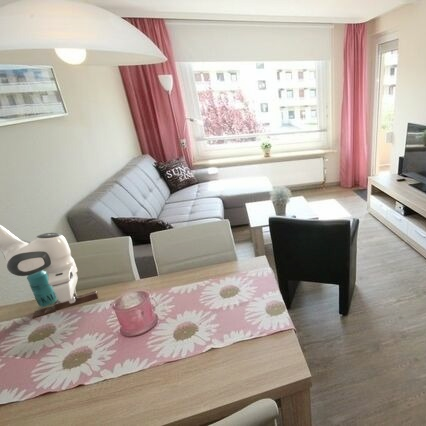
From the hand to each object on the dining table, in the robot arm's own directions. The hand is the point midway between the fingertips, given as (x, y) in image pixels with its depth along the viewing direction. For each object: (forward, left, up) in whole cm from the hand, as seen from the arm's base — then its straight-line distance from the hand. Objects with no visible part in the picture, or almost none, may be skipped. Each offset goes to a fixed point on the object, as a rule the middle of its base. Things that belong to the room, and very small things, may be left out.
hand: (73, 299), depth 122 cm
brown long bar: (-2, 0, -2) cm, 3 cm away
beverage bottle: (-12, +14, -6) cm, 19 cm away
